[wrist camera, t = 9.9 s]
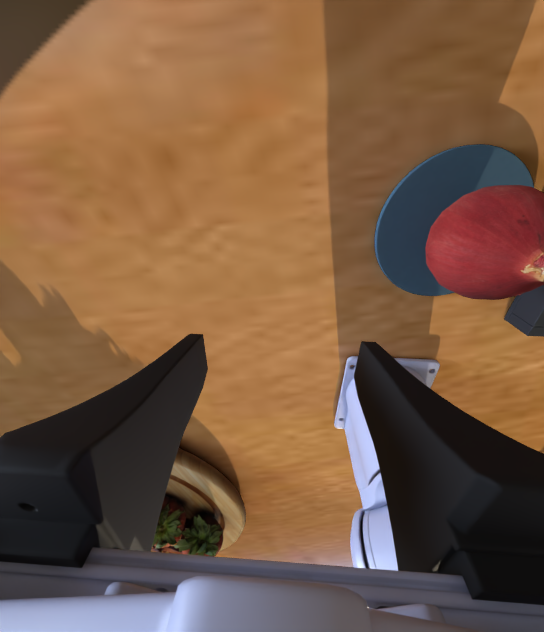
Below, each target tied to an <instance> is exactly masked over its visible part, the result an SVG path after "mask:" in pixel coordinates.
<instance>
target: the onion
mask: <svg viewBox="0 0 544 632" xmlns="http://www.w3.org/2000/svg"><path fill="white" fill-rule="evenodd" d="M425 250H426V264H427V266H428V268H429V269H430V271H431V272H432V274H433V275H434V277H435V279H436V280H437V282H438V283H439V284H440V285H441V286H443V287H445V288H446V289H448V290H450V291H453V292H455V293H457V294H459V295H462V296H464V297H468V298H472V299H489V300H496V299H504V298H508V297H512V296H517V295H521V294H523V293H525V292H528V291H531V290H534V289H536V288H538V287H540V286H542V285H544V193H543V192H541V191H539V190H537V189H535V188H532V187H530V186H523V185H497V186H489V187H484V188H481V189H479V190H476V191H474V192H471V193H468V194H466V195H463V196H462V197H461V198H460V199H458V200H457V201H456V202H454V203H453V204H452V205H450V206H449V207H448V208H446V209H445V210H444V211H442V213H441V214H440V215H439V217H438V218H437V219H436V221H435V222H434V223H433V225H432V226H431V228H430V232H429V235H428V239H427V242H426V247H425Z"/></svg>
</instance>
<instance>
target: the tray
mask: <svg viewBox="0 0 544 632" xmlns="http://www.w3.org/2000/svg"><path fill="white" fill-rule="evenodd" d="M504 320H506V321H508V322H509V323H510V324H512V325H513V326H514V327H516V328H517V329H519V330H520V331H521V332H523V333H524V334H526V335H527V336H544V285H542V286H540V287H538V288H536V289H534V290H531V291H528V292H525V293H523V294H521V295H517V296H516V297H515V299H514V301H513V303H512V305H511V307H510V308H509V310H508V312H507V314H506V316H505V318H504Z"/></svg>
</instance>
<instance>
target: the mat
mask: <svg viewBox="0 0 544 632" xmlns="http://www.w3.org/2000/svg"><path fill="white" fill-rule="evenodd" d="M497 185H523V186H530V187H532V188H534V184H533V180H532V178H531V175H530V172H529V171H528V169H527V167H526V166H525V164H524V163H523V162H522V161H521V160H520V159H519V158H518V157H517V156H515V155H514V154H513V153H511V152H509V151H507V150H505V149H503V148H500V147H496V146H493V145H483V144H477V145H465V146H460V147H455V148H452V149H449V150H446V151H443V152H441V153H439V154H436V155H434V156H432V157H430V158H429V159H427V160H426V161H424V162H422V163H421V164H419V165H418V166H417V167H416V168H414V169H413V170H412V171H411V172H410V173H408V174H407V175H406V176H405V177H404V178H403V179H402V180H401V181H400V183H399V184H398V185H397V186H396V187H395V189H394V190H393V191H392V193H391V194H390V196H389V197H388V199H387V201H386V203H385V204H384V206H383V208H382V211H381V213H380V216H379V218H378V222H377V226H376V231H375V253H376V257H377V261H378V263H379V265H380V267H381V269H382V271H383V272H384V274H385V275H386V276H387V277H388V279H389V280H390V281H391V282H392V283H394V284H395V285H396V286H398V287H399V288H401V289H403V290H405V291H407V292H410V293H413V294H417V295H425V296H439V295H446V294H450V293H455V292H453V291H450V290H448V289H446V288H445V287H443V286H441V285H440V284H439V283H438V282H437V280H436V279H435V277H434V275H433V274H432V272H431V271H430V269H429V268H428V266H427V264H426V250H425V247H426V242H427V239H428V235H429V232H430V228H431V226H432V225H433V223H434V222H435V221H436V219H437V218H438V217H439V215H440V214H441V213H442V211H444V210H445V209H446V208H448V207H449V206H450V205H452V204H453V203H454V202H456V201H457V200H458V199H460V198H461V197H462V196H463V195H466V194H468V193H471V192H474V191H476V190H479V189H481V188H484V187H489V186H497Z"/></svg>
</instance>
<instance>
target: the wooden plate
mask: <svg viewBox="0 0 544 632" xmlns="http://www.w3.org/2000/svg"><path fill="white" fill-rule="evenodd" d="M245 522H246V512H245V507H244V503H243V501H242V499H241V496H240V494H239V492H238V491H237V489H236V488H235V487H234V486H233V484H232V483H231V482H230V481H229V480H228V479H227V478H226V477H225V476H224V475H222V474H221V473H220V472H219V471H217V470H216V469H215V468H214V467H212V466H211V465H209V464H208V463H206V462H205V461H203V460H201V459H200V458H198V457H196V456H194V455H193V454H191V453H189V452H186V451H184V450H182V449H180V448H178V452H177V455H176V458H175V461H174V465H173V468H172V472H171V475H170V479H169V482H168V486H167V489H166V493H165V497H164V501H163V504H162V508H161V512H160V516H159V520H158V524H157V528H156V532H155V536H154V541H153V545H152V549H151V552H161V553H174V554H187V555H200V556H213V557H214V556H215V555H216V554H217V553H218V552H220V551H222V550H224V549H226V548H228V547H229V546H230V545H232V544H233V543H234V542H235V541H236V540H237V539H238V538H239V536H240V535H241V533H242V531H243V528H244V526H245Z"/></svg>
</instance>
